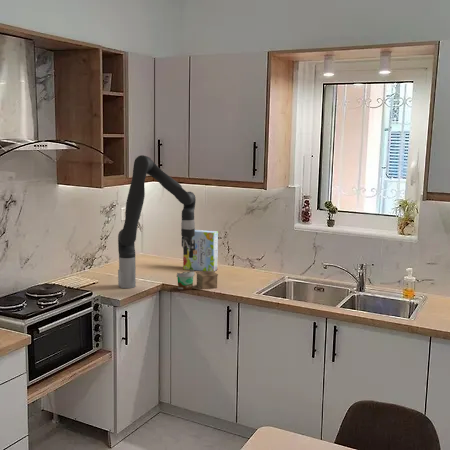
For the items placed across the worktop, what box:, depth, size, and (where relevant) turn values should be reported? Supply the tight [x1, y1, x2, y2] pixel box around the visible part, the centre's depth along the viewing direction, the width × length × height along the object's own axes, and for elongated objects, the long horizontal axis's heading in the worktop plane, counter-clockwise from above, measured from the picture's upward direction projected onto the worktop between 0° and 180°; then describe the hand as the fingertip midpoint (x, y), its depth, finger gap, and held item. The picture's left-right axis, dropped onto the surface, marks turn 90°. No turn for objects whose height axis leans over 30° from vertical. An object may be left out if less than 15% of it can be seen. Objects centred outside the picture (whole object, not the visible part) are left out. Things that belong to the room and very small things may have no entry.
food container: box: [176, 269, 196, 292], centre depth 319 cm, size 12×6×10 cm, turn 143°
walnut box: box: [195, 271, 219, 290], centre depth 325 cm, size 10×10×8 cm
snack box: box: [182, 229, 219, 272], centre depth 367 cm, size 22×9×26 cm, turn 70°
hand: (188, 256), depth 318 cm, fingers open, 8 cm apart
